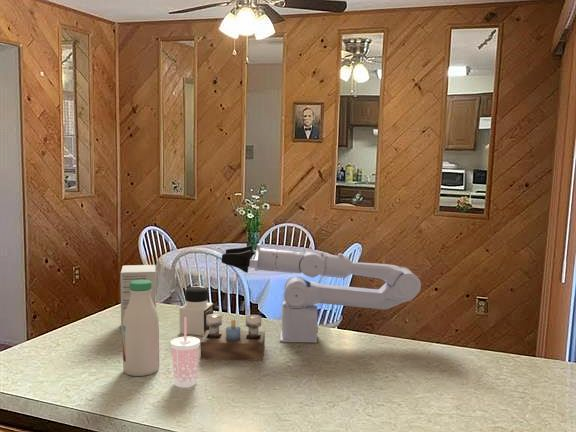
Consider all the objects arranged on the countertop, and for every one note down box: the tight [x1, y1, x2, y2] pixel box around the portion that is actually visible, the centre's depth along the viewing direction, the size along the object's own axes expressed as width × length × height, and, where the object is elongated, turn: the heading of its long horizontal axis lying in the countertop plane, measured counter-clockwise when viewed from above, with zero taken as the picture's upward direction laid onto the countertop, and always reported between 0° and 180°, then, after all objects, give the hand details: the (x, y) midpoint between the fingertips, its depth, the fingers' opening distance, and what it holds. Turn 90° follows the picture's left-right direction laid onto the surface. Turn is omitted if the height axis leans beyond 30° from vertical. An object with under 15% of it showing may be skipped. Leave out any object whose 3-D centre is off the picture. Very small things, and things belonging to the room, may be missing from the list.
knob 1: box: [206, 313, 223, 339], centre depth 129 cm, size 4×4×6 cm
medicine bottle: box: [178, 285, 214, 336], centre depth 145 cm, size 7×7×12 cm
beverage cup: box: [170, 317, 201, 388], centre depth 111 cm, size 6×6×14 cm
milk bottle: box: [122, 280, 160, 377], centre depth 117 cm, size 8×8×20 cm
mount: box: [200, 329, 266, 361], centre depth 130 cm, size 14×9×4 cm, turn 89°
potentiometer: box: [225, 319, 241, 340], centre depth 128 cm, size 3×3×4 cm
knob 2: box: [245, 314, 262, 340], centre depth 129 cm, size 4×4×6 cm
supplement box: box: [119, 264, 157, 335], centre depth 146 cm, size 10×9×17 cm
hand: (223, 255), depth 139 cm, fingers open, 7 cm apart
